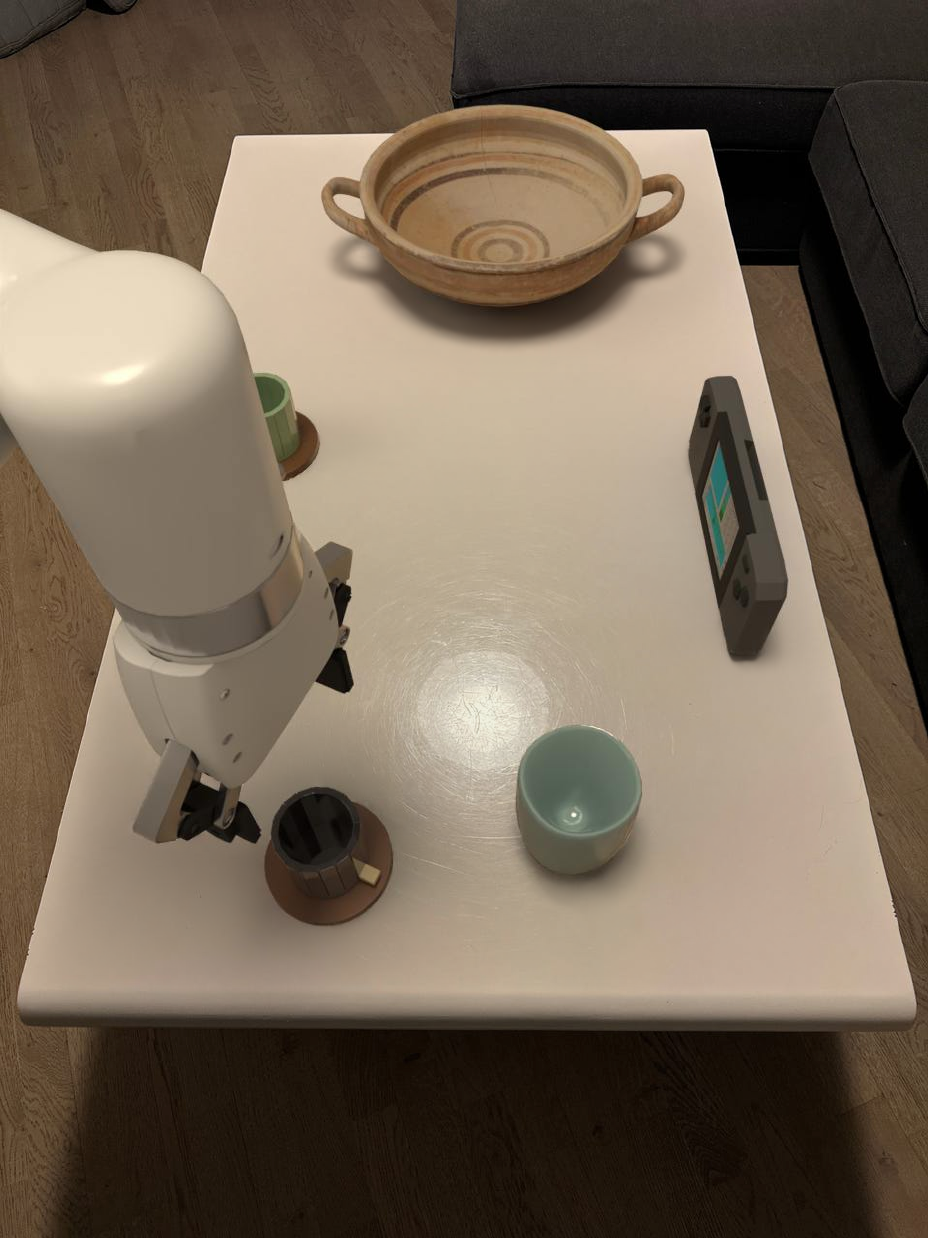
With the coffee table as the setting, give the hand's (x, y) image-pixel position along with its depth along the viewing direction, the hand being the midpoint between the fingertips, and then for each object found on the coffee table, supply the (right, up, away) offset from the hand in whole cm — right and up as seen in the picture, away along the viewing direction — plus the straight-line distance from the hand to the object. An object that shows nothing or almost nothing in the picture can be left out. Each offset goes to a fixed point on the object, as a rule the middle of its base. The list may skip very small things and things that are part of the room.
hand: (283, 751), depth 51 cm
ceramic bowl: (+14, +46, +52) cm, 71 cm away
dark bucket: (0, -10, +15) cm, 18 cm away
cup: (+17, -8, +16) cm, 25 cm away
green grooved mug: (-8, +23, +37) cm, 45 cm away
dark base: (0, -10, +15) cm, 18 cm away
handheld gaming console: (+32, +13, +30) cm, 46 cm away
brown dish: (-8, +23, +37) cm, 45 cm away
